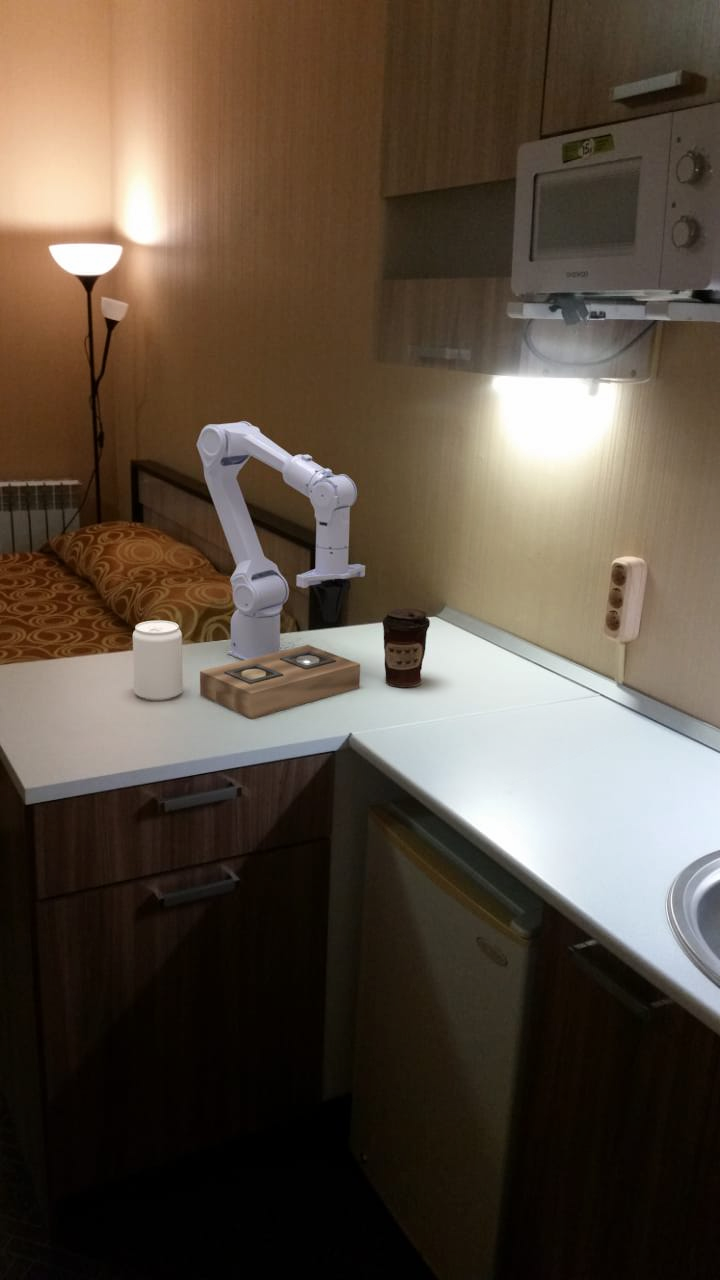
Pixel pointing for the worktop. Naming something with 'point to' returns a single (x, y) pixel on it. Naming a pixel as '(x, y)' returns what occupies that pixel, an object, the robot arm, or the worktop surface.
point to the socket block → (279, 681)
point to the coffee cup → (404, 646)
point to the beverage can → (157, 660)
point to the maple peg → (253, 673)
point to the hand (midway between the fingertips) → (330, 620)
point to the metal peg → (307, 660)
